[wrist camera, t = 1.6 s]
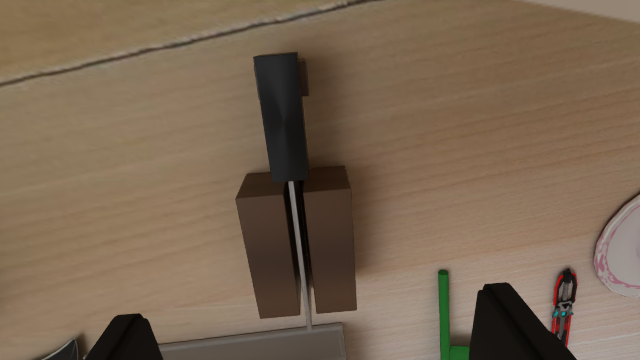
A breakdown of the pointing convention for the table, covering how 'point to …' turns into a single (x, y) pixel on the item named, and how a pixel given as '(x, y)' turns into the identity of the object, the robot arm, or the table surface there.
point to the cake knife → (286, 142)
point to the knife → (65, 352)
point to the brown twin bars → (280, 242)
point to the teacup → (621, 251)
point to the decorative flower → (447, 323)
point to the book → (264, 346)
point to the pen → (564, 306)
